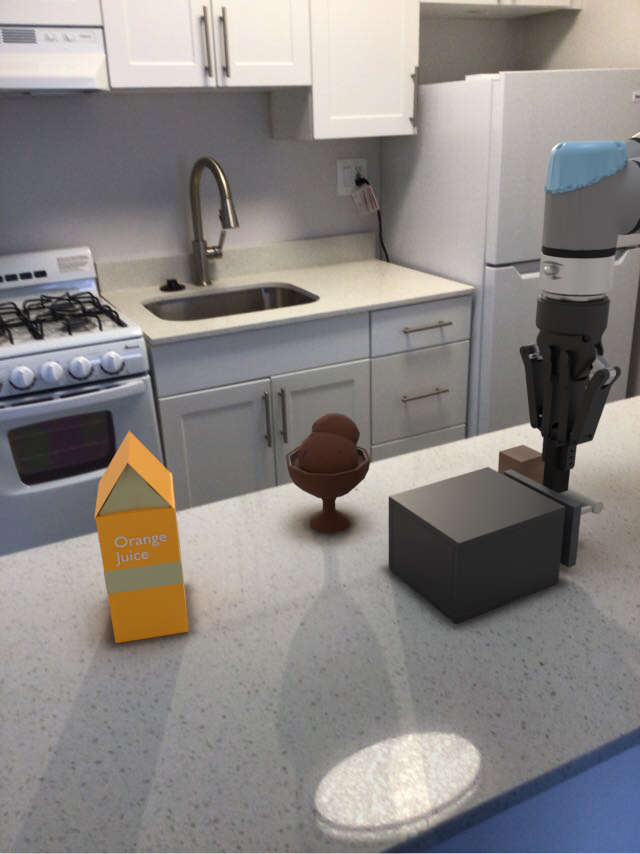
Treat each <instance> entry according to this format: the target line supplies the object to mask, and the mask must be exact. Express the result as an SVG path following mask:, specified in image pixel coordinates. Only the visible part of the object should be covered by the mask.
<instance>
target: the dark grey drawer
mask: <svg viewBox="0 0 640 854" xmlns="http://www.w3.org/2000/svg"><path fill="white" fill-rule="evenodd" d="M504 475H505V476H507V477H509V478H511V479H512V480H514V481H516V482H518V483H520V484H522V485H524V486H526V487H528V488H530V489H532V490H534V491H536V492H538V493H539V494H541V495H543V496H545V497H547V498H549V499H551V500H553V501H555V502H557V503H559V504H561V505H563V506H565V517H564V527H563V538H562V549H561V559H560V565H563V566H564V567H566V568H567V569H569V568H573V567H574V566H576V564H577V556H578V555H577V553H578V546H579V537H580V536H579V535H580V527H581V526H580V525H581V517H582V515H583V516H584V515H586V514H589V513H593V514H595V515H599V514H600V513H602V511H603V509H604V502H602V500H598V499H596V497H595V498H594V497H593V496H590V495H588V494H587V493H585V492H582V491H580V490H578V489H576V488H574V487H572V486H570V485H569V486H568V491H565V492H562V493H557V492H555V491H553V490H551V489H549V488H547V487H545V486H543V484H539V483H537V482H535V481H533V480H531V479H529V478H527V477H525V476H523V475H521V474H519V473H518V472H516V471H514V470H512V469H510V470H507V471H504Z"/></svg>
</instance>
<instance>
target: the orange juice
mask: <svg viewBox="0 0 640 854" xmlns="http://www.w3.org/2000/svg"><path fill="white" fill-rule="evenodd" d="M175 499H176V498H175V488H174V478H173V473H172V472H170V471H169V470H168V468H167V467H166V466H164V465H163V463H162V462H160V460H159V459H158V458H157V457H155V455H154V454H153V453H152V451H151V452H150V450H149V449H148V448H147V447H146V446H145V445H144V444H143V443H142V442H141V441H140V440H139V439H138V438H137V437H136V436H135V435H134V434H133V433H132V432H131V429H129V430H128V432H127V433H126V435H125V436H124V438H123V440H122V442H121V444H120V445H119V447H118V448H117V450H116V452H115V454H114V456H113V457H112V459H111V461H110V463H109V465H108V466H107V468H106V470H105V472H104V473H103V475H102V476H101V478H100V480H99V482H98V488H97V494H96V503H95V509H94V518H93V519H94V520H95V524H96V530H97V537H98V543H99V548H100V554H101V562H102V567H103V568H102V569H103V577H104V582H105V588H106V594H107V598H108V605H109V611H110V618H111V623H112V630H113V636H114V643H115V644H120V643H126V642H133V641H139V640H144V639H151V638H158V637H163V636H164V637H165V636H170V635H176V634H184V633H189V632H190V630H189V620H188V619H189V618H188V609H187V608H188V607H187V597H186V596H187V595H186V586H185V577H184V570H183V568H184V567H183V561H182V553H181V552H182V550H181V541H180V540H181V539H180V530H179V523H178V522H179V521H178V516H177V507H176V500H175Z"/></svg>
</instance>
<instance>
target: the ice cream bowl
mask: <svg viewBox="0 0 640 854" xmlns="http://www.w3.org/2000/svg"><path fill="white" fill-rule="evenodd" d="M360 435H361V432H360V429H359V427H358V426H357V424H356V422H354V420H353V419H351V417H349V416H347V415H345V414H343V413H339V412H338V413H337V412H332V413H329V412H327V413H326V414H323V415H322V416H320V417H319V418H317V419H316V420H315V421H314V422H313V423H312V424H311V433H309V435H308V436H307V437H306V438H305V439H304V440H302V441H301V443H300V445H298V446H296V447H295V448H294V449H293V450H291V451H289V452H288V453H286V454H285V456H284V457H285V461H286V468H287V471H288V475H289V477H290V479H291V482H292V483H293V484H294V485H295V486H296V487H297V488H299V489H300V490H301V491H302V492H305V493H307V494H309V495H311V496H313V497H315V498H317V499H321V501H322V509H321V510H319V511H317V512H315V513H313V515H311V516H310V517H309V520H308V523H309V528H310V529H312V530H314V531H316V532H318V533H328V534H333V533H339V532H341V531H345V530H346V529H347V528H348V527H349V526H351V522H350V518H349V516H348V514H347V513H345V512H342V511H340V510H339V509H337V508H336V500H337V498H342V497H344V496H346V495H348V494H349V493H350V492H351V491H353V490H354V489H355V488H357V486H359V484H360V483H362V481H364V480H365V478H366V476H367V475H368V472H369V471H370V466H371V460H372V459H371V457H370V455H369V452H368V450H367V448H363V447H361V446H359V445H358V442H359V440H360Z"/></svg>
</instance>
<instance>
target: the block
mask: <svg viewBox="0 0 640 854" xmlns="http://www.w3.org/2000/svg"><path fill="white" fill-rule="evenodd" d="M544 465H545V462H543V461H542V452H540V451H538V450H536V449H534V448H531V447H529V446H527V445H525V444H520V445H517V446H513V447H509V448H506V449H503V450H500V451H498V465H497V472H499V473H501V474H503V475H504V471H507V470H510V469H512V470H514V471H516V472H518V473H519V474H521V475H523V476H525V477H527V478H529V479H531V480H533V481H535V482H537V483H539V484H541V485H543V476H544Z"/></svg>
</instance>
